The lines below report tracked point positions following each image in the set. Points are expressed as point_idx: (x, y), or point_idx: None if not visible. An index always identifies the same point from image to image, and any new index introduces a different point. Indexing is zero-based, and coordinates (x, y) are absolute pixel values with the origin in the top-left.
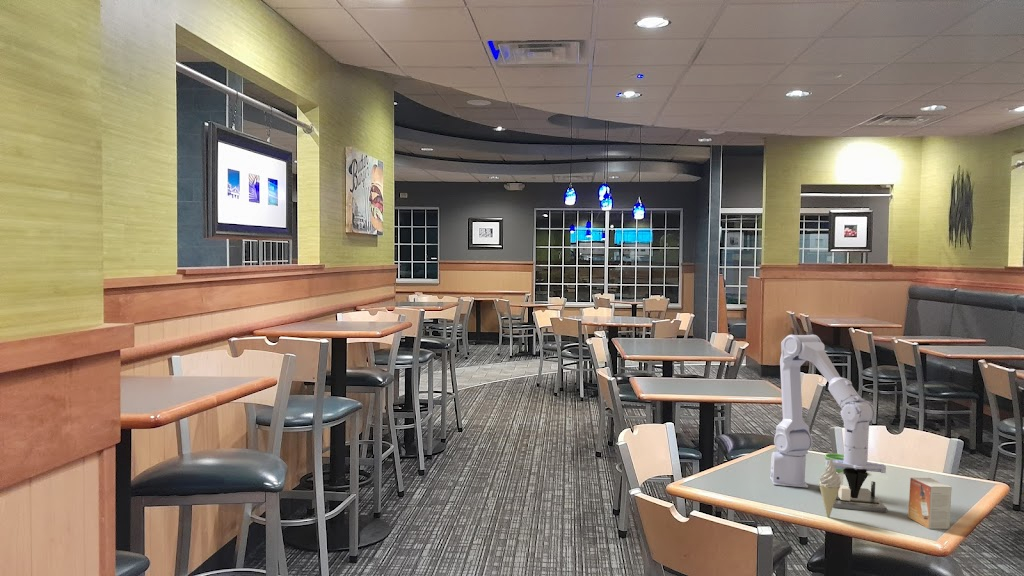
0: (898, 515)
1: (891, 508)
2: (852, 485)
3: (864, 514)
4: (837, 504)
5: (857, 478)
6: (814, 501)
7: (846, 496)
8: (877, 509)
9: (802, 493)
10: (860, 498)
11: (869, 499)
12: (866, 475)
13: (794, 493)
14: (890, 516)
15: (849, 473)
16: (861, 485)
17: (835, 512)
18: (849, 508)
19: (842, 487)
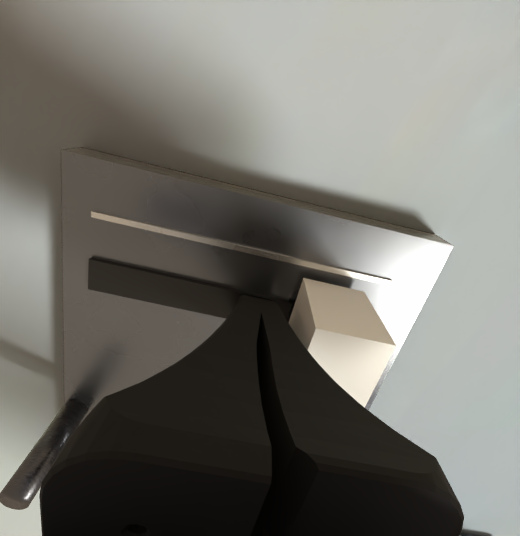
0: (4, 83)
1: (17, 251)
2: (301, 358)
3: (282, 83)
4: (420, 236)
5: (260, 409)
6: (471, 345)
7: (335, 299)
8: (140, 164)
9: (438, 456)
10: (180, 355)
11: (125, 341)
12: (97, 422)
13: (484, 454)
14: (79, 45)
15: (441, 496)
16: (204, 343)
17: (500, 117)
18: (333, 210)
19: (358, 382)
